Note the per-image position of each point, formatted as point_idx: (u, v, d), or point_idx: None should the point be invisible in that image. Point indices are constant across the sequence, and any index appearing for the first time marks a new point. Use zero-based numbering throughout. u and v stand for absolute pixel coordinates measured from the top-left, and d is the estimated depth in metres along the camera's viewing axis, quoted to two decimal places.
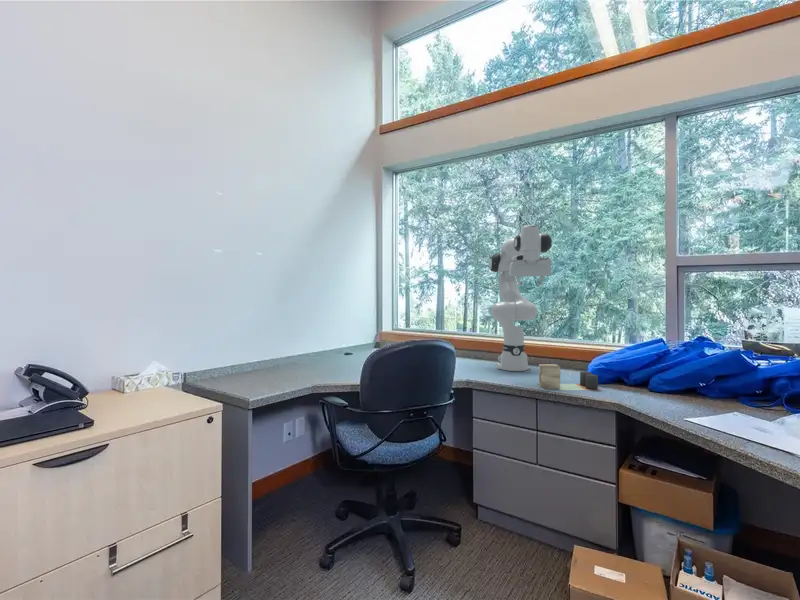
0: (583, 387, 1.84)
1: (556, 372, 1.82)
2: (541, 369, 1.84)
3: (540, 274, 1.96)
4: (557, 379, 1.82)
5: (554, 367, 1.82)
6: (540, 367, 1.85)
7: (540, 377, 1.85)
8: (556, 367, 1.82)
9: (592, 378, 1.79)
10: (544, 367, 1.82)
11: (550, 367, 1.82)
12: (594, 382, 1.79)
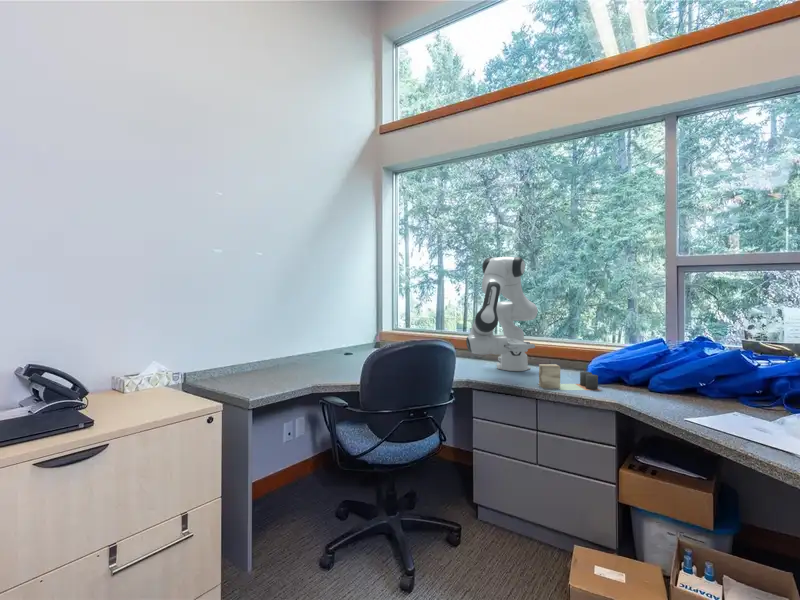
0: (583, 387, 1.84)
1: (556, 372, 1.82)
2: (541, 369, 1.84)
3: None
4: (557, 379, 1.82)
5: (554, 367, 1.82)
6: (540, 367, 1.85)
7: (540, 377, 1.85)
8: (556, 367, 1.82)
9: (592, 378, 1.79)
10: (544, 367, 1.82)
11: (550, 367, 1.82)
12: (594, 382, 1.79)
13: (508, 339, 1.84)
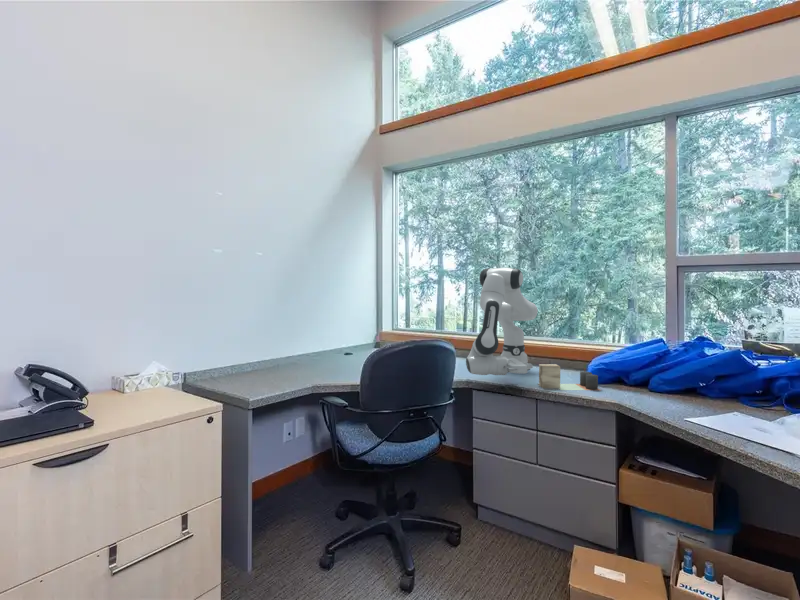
0: (583, 387, 1.84)
1: (556, 372, 1.82)
2: (541, 369, 1.84)
3: None
4: (557, 379, 1.82)
5: (554, 367, 1.82)
6: (540, 367, 1.85)
7: (540, 377, 1.85)
8: (556, 367, 1.82)
9: (592, 378, 1.79)
10: (544, 367, 1.82)
11: (550, 367, 1.82)
12: (594, 382, 1.79)
13: (508, 360, 1.83)
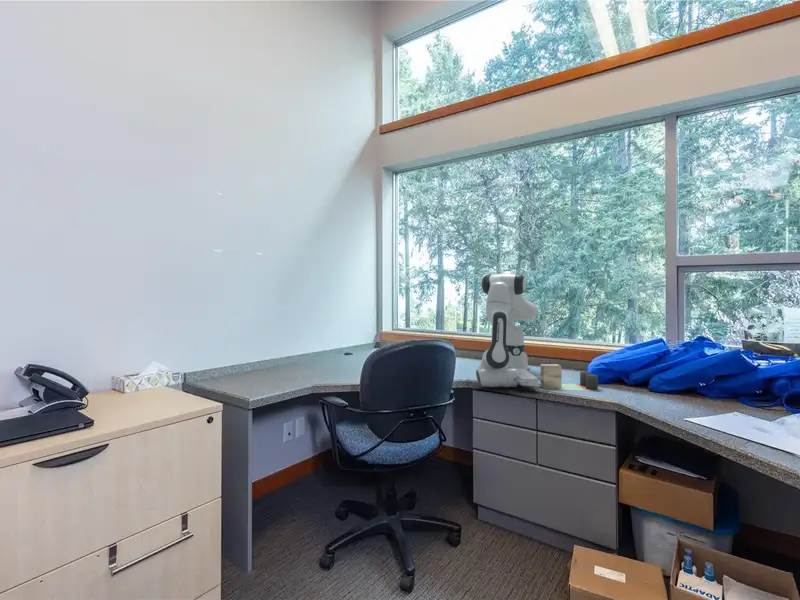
0: (583, 387, 1.84)
1: (557, 372, 1.82)
2: (542, 369, 1.84)
3: None
4: (559, 379, 1.82)
5: (555, 367, 1.82)
6: (541, 367, 1.85)
7: None
8: (557, 367, 1.82)
9: (592, 378, 1.79)
10: (545, 367, 1.82)
11: (551, 367, 1.82)
12: (594, 382, 1.79)
13: (518, 372, 1.84)
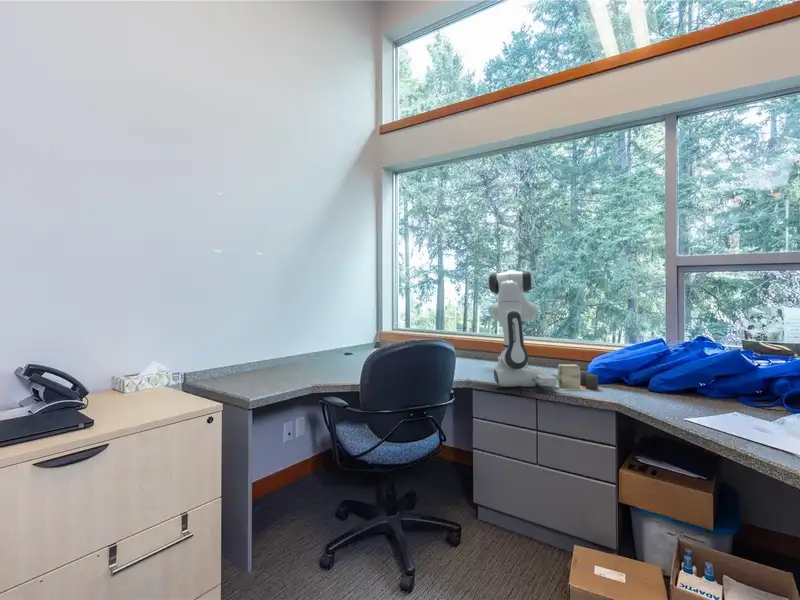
0: (583, 387, 1.84)
1: (576, 372, 1.82)
2: (560, 369, 1.83)
3: None
4: (577, 379, 1.82)
5: (574, 367, 1.82)
6: (559, 367, 1.85)
7: None
8: (576, 367, 1.82)
9: (592, 378, 1.79)
10: (564, 367, 1.82)
11: (570, 367, 1.82)
12: (594, 382, 1.79)
13: (536, 372, 1.84)
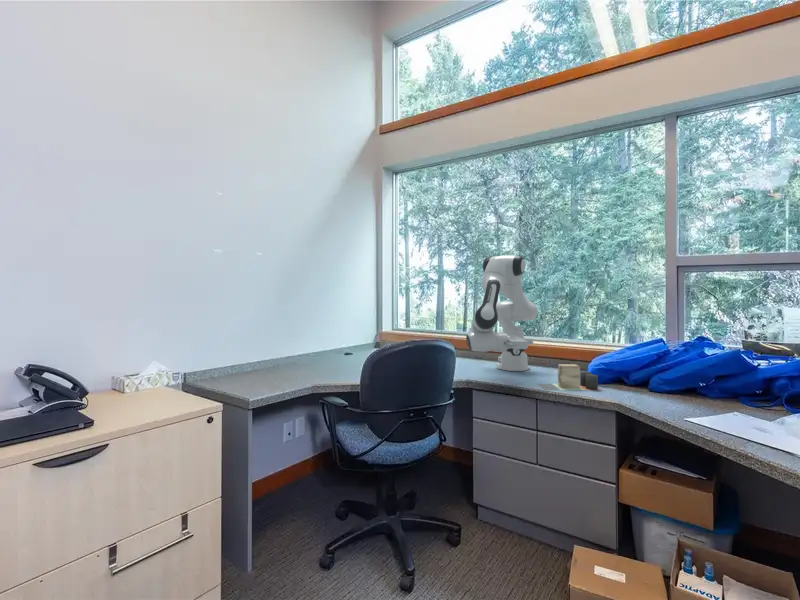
0: (583, 387, 1.84)
1: (576, 372, 1.82)
2: (560, 369, 1.83)
3: None
4: (577, 379, 1.82)
5: (574, 367, 1.82)
6: (559, 367, 1.85)
7: (559, 377, 1.85)
8: (576, 367, 1.82)
9: (592, 378, 1.79)
10: (564, 367, 1.82)
11: (570, 367, 1.82)
12: (594, 382, 1.79)
13: (508, 336, 1.84)
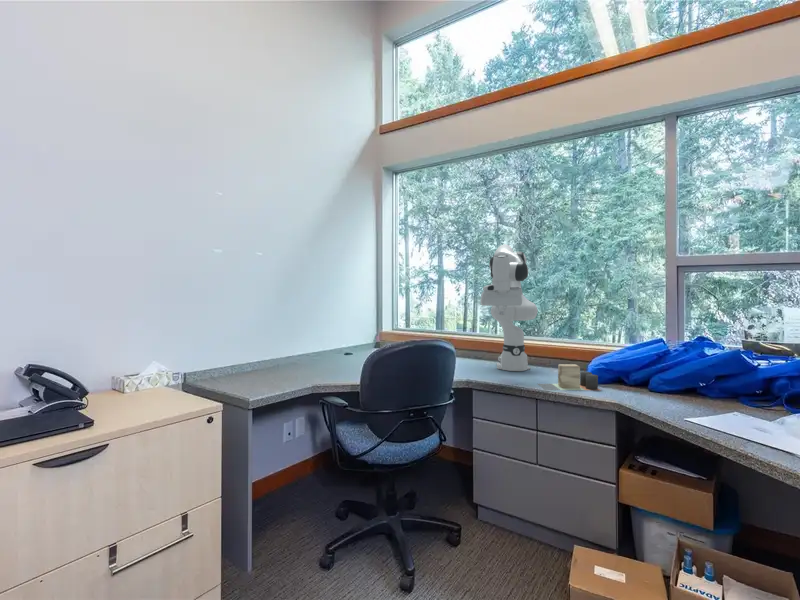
0: (583, 387, 1.84)
1: (576, 372, 1.82)
2: (560, 369, 1.83)
3: (511, 304, 1.98)
4: (577, 379, 1.82)
5: (574, 367, 1.82)
6: (559, 367, 1.85)
7: (559, 377, 1.85)
8: (576, 367, 1.82)
9: (592, 378, 1.79)
10: (564, 367, 1.82)
11: (570, 367, 1.82)
12: (594, 382, 1.79)
13: None
